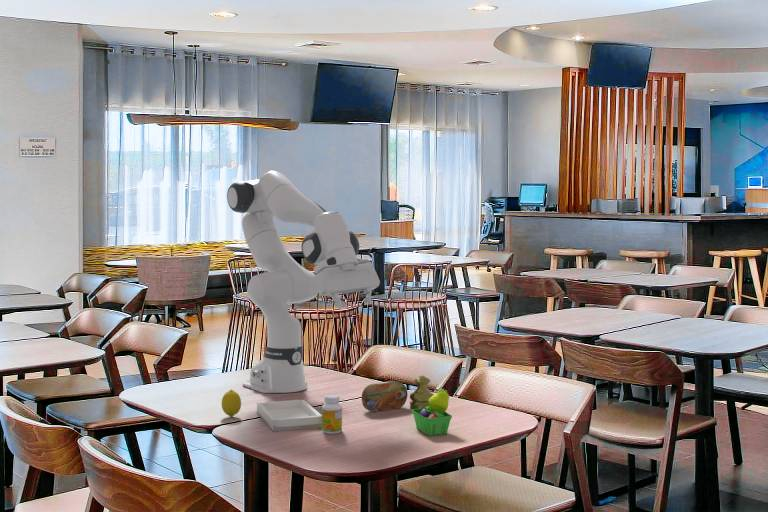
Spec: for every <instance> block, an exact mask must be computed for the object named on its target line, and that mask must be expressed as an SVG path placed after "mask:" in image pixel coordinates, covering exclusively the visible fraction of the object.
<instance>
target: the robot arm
mask: <svg viewBox="0 0 768 512" xmlns="http://www.w3.org/2000/svg"><path fill="white" fill-rule="evenodd" d="M226 193H227V194H226V200H227V203H228V207H229V208H230V209H231V211H233V212H235V213H240V214H244V216H243V217H242V219H241V225H242V231H243V235H244V239H245V241H246V244H247V247H248V249H249V252H250V254H251V256H252V258H253V261H254V264H255V265H256V266H257V267H258V268H260V269H261V270H263V271H265V272H263V273H259V274H256V275H253V276H252V277H251V278H250V280H249V281H248V283H247V295H248V298H249V300H250V301H251V302H252V303H253V304H254V305H256V306H257V308H259V310H260V311H261V312H262V315H263V317H264V319H265V324H266V330H267V333H266V334H267V335H266V336H267V346H266V347H262V349H263V350H261V352H264V354H263V358H261V360H259V361H258V362H257V363H256V364H254V365H253V366H252V367H251V368H250V369H251V370H250V374H249V375H250V376H249V380H246V381H243V382H242V386H243V387H245V388H248V389H250V388H251V390H254V391H257V392H259V393H262V394H273V393H277V394H278V393H279V394H280V393H296V392H302V391H305V390H307V388H308V387H307V385H308V383H307V381H306V377H305V376H306V375H305V367H304V361H303V356H304V349H303V345H302V323H301V321H300V320H299V319H298V318H297V317H295V316H294V315H291V314H290V311H289V306H288V305H292V304H301V303H305V302H309V301H311V300H313V299H315V298H317V296H318V295H320V296H321V297H327V296H331V299H332V301H333V302H334V303H336V305H337V309H344V308H345V307H346V304H345V301H344V300H341V298H340V297H339V296H340V295H342V294H349V293H355V292H356V293H357V292H363V294H365V298H363V302H364V305H367V306H369V305H371V304H372V292H373V290H375V289H377V288H378V287H379V286H380V283H381V281H380V278H379V276H378V274H377V271H376V269H375V267H374V264H373V262H371V261H369V260H368V259H361V260H360V259H359V260H358V259H357V257H358V254H359V252H360V251H359V250H360V242H359V239H358V237H357V236H356V234H355V233H354V232H353V231H351V230H350V229H348V226H347V224H346V223H347V222H346V220H345V219H344V217H343V215H342V214H341V212H339V211H327V210H326V209H325V208H323V206H321V205H319V204H318V203H316V202H314V201H312V200H311V199H310V198H308V197H307V196H305V195H304V194H303V193H302V192H301V191H300V190H298V188H297V187H296V186H295V185H294V183H293V182H292V181H290V179H289V178H288V177H286V176H285V175H284V174H283V173H282V172H279V171H277V170H269V171H267V172H265V173H263V174H262V176H261V177H260V178H257V179H250V180H245V181H244V180H240V181H236V182H233V183H232V184H231V185H230V186H229V187H228V189H227V192H226ZM245 213H246V214H245ZM274 217H275V218H277V219H278V220H279V221H282V222H284V223H289V224H299V225H306V226H311V227H313V228H312V230H311V232H310V233H309V234H308V235H306V236H305V237H304V239H303V240H302V242H301V253H302V255H303V258H304V259H305V261H306V262H307V263H309V264H310V265H315V266H314V267H313V271H311V270H308V269H306V268H305V267H303V266H302V265H301V264H300V263H298V262H297V261H296V260H295V259H294V258H293V257H292V255H291V254H290V253H289V252H288V250H287V248H286V247H285V245H284V242H283V240H282V238H281V236H280V233H279V231H278V229H277V227H276V225H275V223H274V220H273V219H274Z"/></svg>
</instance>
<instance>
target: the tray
mask: <svg viewBox="0 0 768 512" xmlns="http://www.w3.org/2000/svg"><path fill="white" fill-rule="evenodd" d="M256 413H257V415H258V416H259V417H260V418H261V419H262V420H263V421H264V422H265V424H266V425H267V426H268V427H269V428H270V429H271V430H272V432H280V431H281V432H282V431H293V430H305V429H314V428H316V429H317V428H322V413H320V412H319V411H318V410H316V409H315V408H314V407H313V406H311V404H309V403H308V402H307V401H306V400H305V399H304V398H303V399H289V400H279V401H266V402H265V401H264V402H257V403H256Z"/></svg>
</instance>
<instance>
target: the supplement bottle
mask: <svg viewBox="0 0 768 512" xmlns="http://www.w3.org/2000/svg"><path fill="white" fill-rule="evenodd" d="M324 402H325V403H324V404H322V406H321V415H322V427H321V432H322V433H324V434H328V435H336V434H340V433H341V432H342V431H343V405H342V404H341V403H339V402H340V396H339V395H338V394H327V395H325V396H324Z"/></svg>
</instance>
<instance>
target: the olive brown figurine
mask: <svg viewBox="0 0 768 512" xmlns="http://www.w3.org/2000/svg"><path fill="white" fill-rule="evenodd" d="M413 382H414V383H415V384H416V385H417V388H416V389H414V391H413V392H411V393H410V394H409V399H410V401H409V409H410V411H412V410H413V409H423V408H424V407H430V405H429V398H430V397H432V396H433V395H435V394H434V393H433V392H431V390H430V389H428V388H427V386H428V384H429V383H431V379H430V378H428V377H427V376H425V375H419V376H418V377H416V378H414V379H413Z"/></svg>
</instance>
